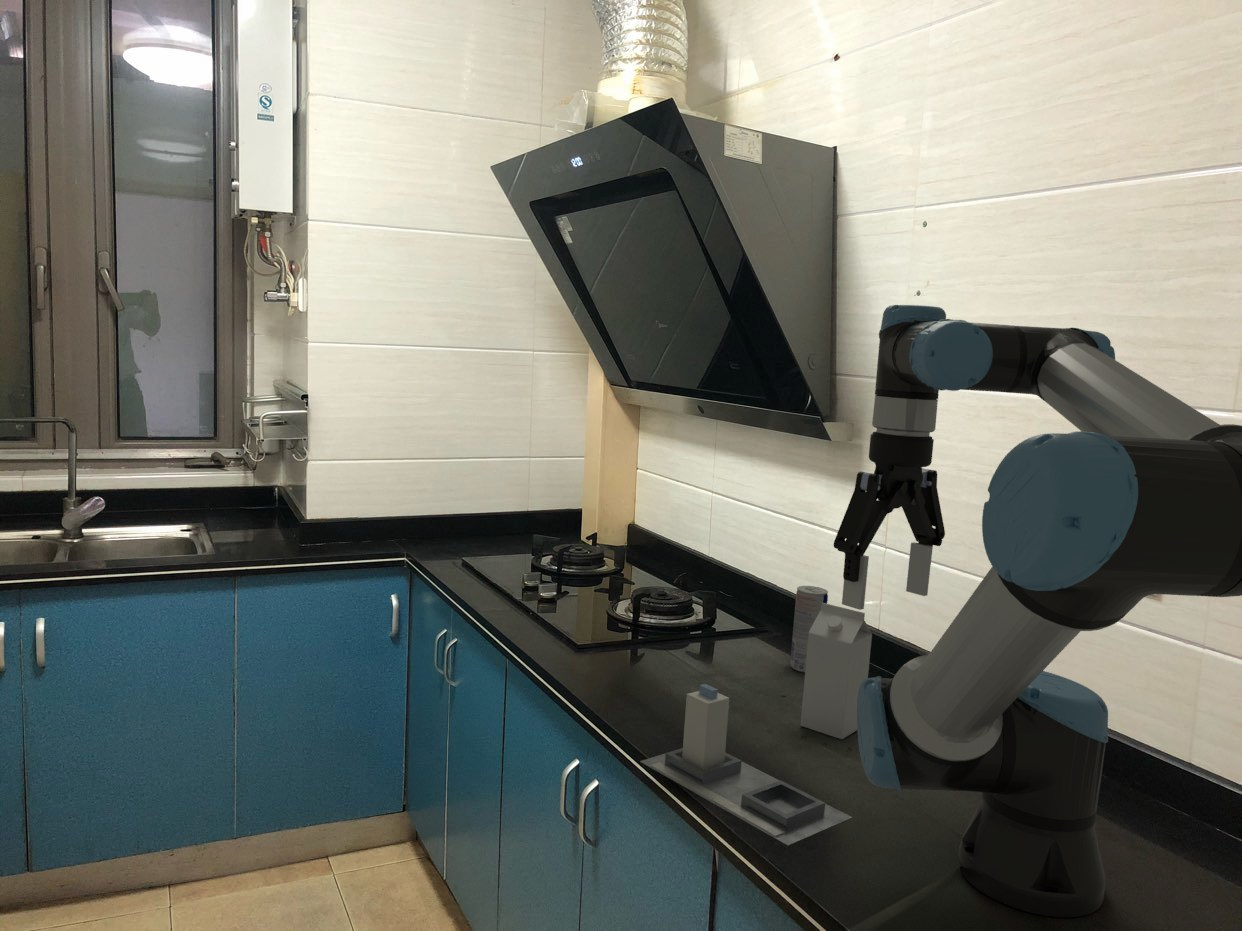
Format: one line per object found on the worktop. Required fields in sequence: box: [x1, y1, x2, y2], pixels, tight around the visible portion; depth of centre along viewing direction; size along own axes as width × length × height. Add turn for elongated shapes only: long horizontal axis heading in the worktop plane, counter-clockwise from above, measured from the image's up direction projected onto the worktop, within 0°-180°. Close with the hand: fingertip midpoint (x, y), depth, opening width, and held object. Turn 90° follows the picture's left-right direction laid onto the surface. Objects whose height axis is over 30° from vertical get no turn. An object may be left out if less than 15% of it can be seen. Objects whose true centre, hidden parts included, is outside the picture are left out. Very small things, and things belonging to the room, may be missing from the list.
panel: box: [639, 747, 853, 846], centre depth 124 cm, size 26×12×2 cm, turn 40°
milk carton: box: [800, 603, 873, 740], centre depth 148 cm, size 7×7×19 cm
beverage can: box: [789, 585, 829, 674], centre depth 174 cm, size 6×6×15 cm
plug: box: [682, 683, 730, 770], centre depth 129 cm, size 4×4×11 cm
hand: (885, 600), depth 121 cm, fingers open, 13 cm apart
